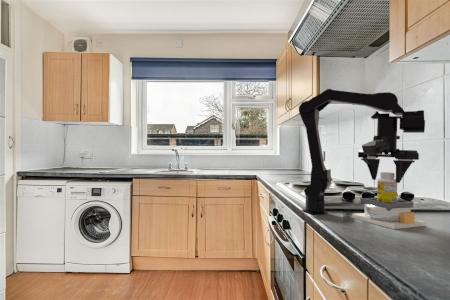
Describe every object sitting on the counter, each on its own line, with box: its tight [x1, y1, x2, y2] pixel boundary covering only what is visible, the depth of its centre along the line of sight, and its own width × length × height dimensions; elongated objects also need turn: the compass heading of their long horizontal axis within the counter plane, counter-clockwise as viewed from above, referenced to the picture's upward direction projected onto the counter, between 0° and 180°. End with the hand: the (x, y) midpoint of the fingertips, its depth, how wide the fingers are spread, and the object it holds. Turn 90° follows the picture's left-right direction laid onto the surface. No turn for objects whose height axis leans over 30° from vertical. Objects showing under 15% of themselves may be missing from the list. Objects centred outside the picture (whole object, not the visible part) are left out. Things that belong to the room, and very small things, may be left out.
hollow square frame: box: [361, 197, 415, 224], centre depth 100 cm, size 14×13×6 cm
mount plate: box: [351, 212, 426, 230], centre depth 101 cm, size 16×13×1 cm
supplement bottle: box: [376, 171, 398, 203], centre depth 101 cm, size 6×6×10 cm
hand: (385, 181), depth 102 cm, fingers open, 9 cm apart
